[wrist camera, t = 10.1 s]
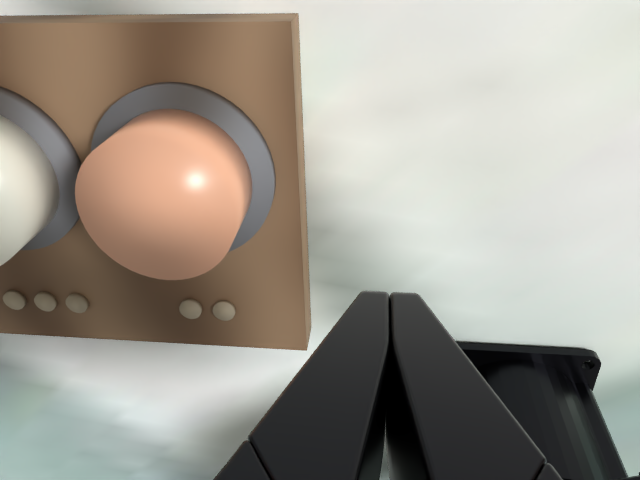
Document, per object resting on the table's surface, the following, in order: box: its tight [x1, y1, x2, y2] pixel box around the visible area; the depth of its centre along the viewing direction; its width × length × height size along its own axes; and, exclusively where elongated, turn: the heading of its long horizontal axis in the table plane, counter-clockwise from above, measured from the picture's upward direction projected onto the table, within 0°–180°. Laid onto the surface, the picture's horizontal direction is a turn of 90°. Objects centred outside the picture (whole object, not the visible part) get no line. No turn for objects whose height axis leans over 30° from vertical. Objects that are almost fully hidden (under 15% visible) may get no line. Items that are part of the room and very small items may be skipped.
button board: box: [0, 13, 311, 350], centre depth 21 cm, size 22×13×2 cm, turn 91°
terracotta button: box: [75, 109, 252, 280], centre depth 18 cm, size 5×5×2 cm
